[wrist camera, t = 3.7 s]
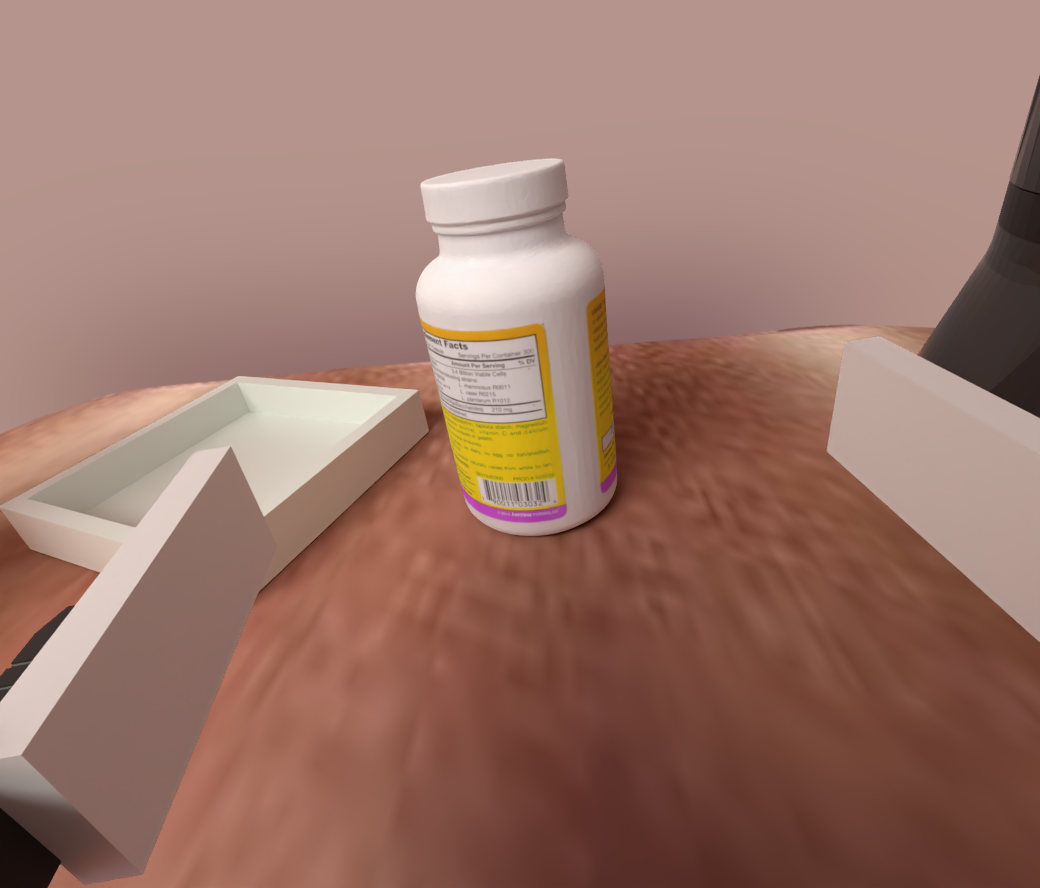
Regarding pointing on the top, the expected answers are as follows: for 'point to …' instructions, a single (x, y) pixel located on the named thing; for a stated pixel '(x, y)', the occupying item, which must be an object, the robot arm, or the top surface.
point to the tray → (259, 450)
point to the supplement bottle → (519, 348)
